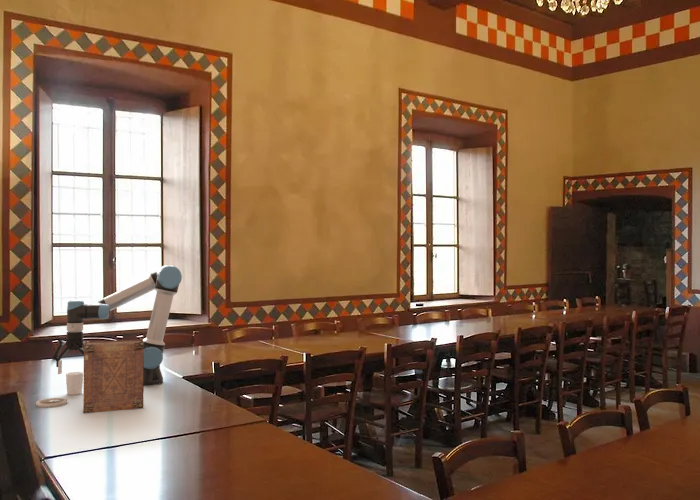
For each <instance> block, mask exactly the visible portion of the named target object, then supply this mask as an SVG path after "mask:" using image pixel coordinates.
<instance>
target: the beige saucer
mask: <svg viewBox="0 0 700 500" xmlns="http://www.w3.org/2000/svg"><path fill="white" fill-rule="evenodd" d="M35 404H36V405H35V406H36V407H38V408H42V409H43V408H57V407H61V406H65V405H67V404H68V398H65V397H48V398H43V399H42V398H41V399H39V400H37V401H36V402H35Z"/></svg>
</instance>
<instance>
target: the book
mask: <svg viewBox="0 0 700 500" xmlns="http://www.w3.org/2000/svg"><path fill="white" fill-rule="evenodd" d="M84 342H85V341H84ZM83 348H84V355H83V400H82V401H83V402H82V403H83V406H82V407H83V410H82V412H83V413H84V414H91V413H92V414H93V413H102V412H114V411H128V410H138V409H144V391H145V390H144V389H145V388H144V387H145V386H144V342H143V339H129V340H127V339H126V340H123V339H122V340H106V341H105V340H103V341H100V340H98V341H89V342H85V343H84V344H83Z"/></svg>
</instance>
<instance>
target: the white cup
mask: <svg viewBox="0 0 700 500" xmlns="http://www.w3.org/2000/svg"><path fill="white" fill-rule="evenodd" d="M65 382H66V383H65V384H66V385H65V386H66V394H67V395H70V396H75V395H80V394H82V393H83V387H84V371H83V372H82V371H73V372H67V373H66V374H65Z"/></svg>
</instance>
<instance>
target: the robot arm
mask: <svg viewBox="0 0 700 500" xmlns="http://www.w3.org/2000/svg"><path fill="white" fill-rule="evenodd" d="M182 278H183V275H182V272H181V270H180V269H179V268H178V267H176V265H172V264H170V265H169V264H166V265H165V264H164V265H162V266H161V267H159V268H158V269H156V270H155V271H152V272H150V273H149V274H148V276H147V277H145V278H142V279H141V280H138V281H137V282H134V283H132V284H131V285H128V286H126V287H124V288H122V289H120V290H117V291H116V292H114V293H112V294H110V295H107V296H106V297H104V298H102V299H99V300H96V301H94V302H92V303H89V304H86V303H84V300H83V299H72V300H68V302H67V306H66V307H67V308H66V331H67V332H66V341H65V340H60V341H59V344H58V347H57V349H56V351H55V352H54V354H53V355H52V360H55V361H56V363H55V365H56V368H57V375H60V374H62V373H63V360H62V358H63V357H64V356H65V355H66V354H67V353H68V352H69V351H79V352H80V353H81V354H82V355H83V356H84V343H85V342H90V341H89V340H86V341H83V340H84V332H83V331H84V320H106V319H109V317H110V315H109V314H110V312H111V311H113V310H115V309H117V308H120V307H121V306H123V305H125V304H127V303H130V302H131V301H133V300H134V301H135V299H138V298H140V297H141V296H144V295H146V294H148V293H150V292H152V291H154V290H155V291H156V294H155V295H156V296H155V297H154V298H155V299H154V302H153V303H154V304H153V305H152V306H153V307H152V311H151V316H150V319H149V324H148V328H147V332H146V337H145V338H143V339H142V340H143V342H144V387H149V386H156V385H160V384H163V383H164V377H163V373H162V370H161V367H160V366H161V364H162V363H163V360H164V350H165V346H166V343H165V342H164V337H165V333H166V328H167V326H168V325H167V324H168V320H169V316H170V311H171V307H172V303H173V300H174V299H173V298H174V296H175V295H176V294H178V291H179V287H180V284H181V283H182ZM65 345H66V348H64V350H63V351H62V349H63V347H64V346H65ZM61 351H62V352H61ZM60 352H61V353H60Z"/></svg>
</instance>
